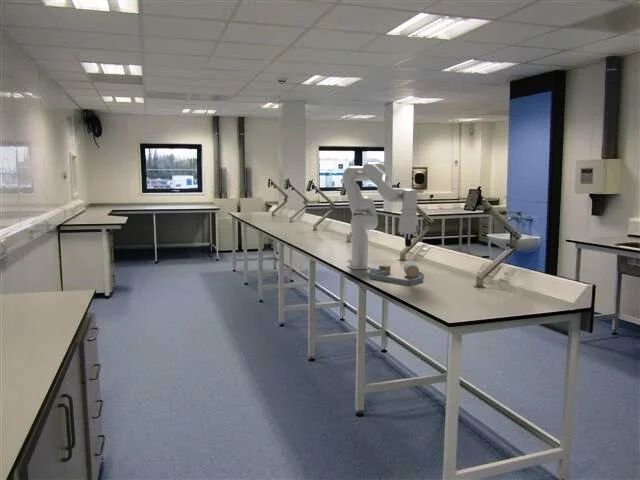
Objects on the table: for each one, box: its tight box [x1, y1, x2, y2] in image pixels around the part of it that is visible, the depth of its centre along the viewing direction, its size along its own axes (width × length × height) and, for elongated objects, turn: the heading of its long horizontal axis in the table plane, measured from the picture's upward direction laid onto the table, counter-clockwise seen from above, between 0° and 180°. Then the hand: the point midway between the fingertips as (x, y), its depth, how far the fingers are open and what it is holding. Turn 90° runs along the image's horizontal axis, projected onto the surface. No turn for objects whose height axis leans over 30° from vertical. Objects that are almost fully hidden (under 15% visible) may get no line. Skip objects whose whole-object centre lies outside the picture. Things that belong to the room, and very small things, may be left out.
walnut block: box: [378, 264, 391, 275], centre depth 288 cm, size 4×4×4 cm
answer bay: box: [369, 271, 424, 286], centre depth 270 cm, size 24×14×2 cm, turn 47°
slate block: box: [369, 267, 380, 275], centre depth 282 cm, size 4×4×4 cm
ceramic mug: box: [403, 261, 425, 279], centre depth 279 cm, size 11×8×8 cm
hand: (408, 246), depth 276 cm, fingers closed
